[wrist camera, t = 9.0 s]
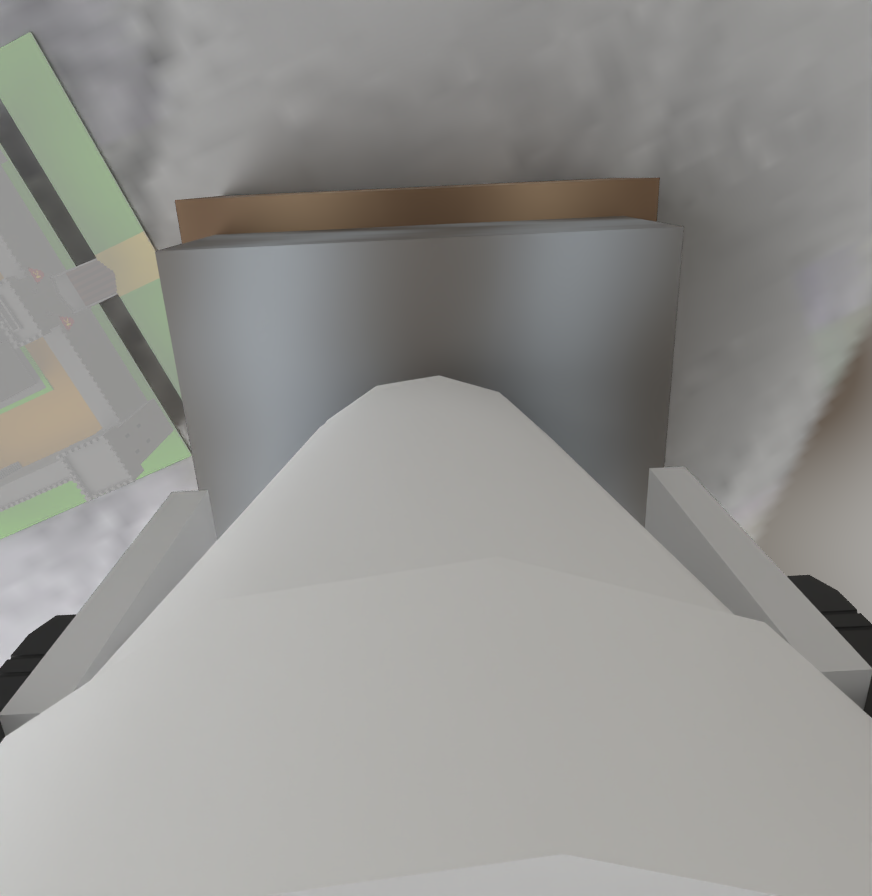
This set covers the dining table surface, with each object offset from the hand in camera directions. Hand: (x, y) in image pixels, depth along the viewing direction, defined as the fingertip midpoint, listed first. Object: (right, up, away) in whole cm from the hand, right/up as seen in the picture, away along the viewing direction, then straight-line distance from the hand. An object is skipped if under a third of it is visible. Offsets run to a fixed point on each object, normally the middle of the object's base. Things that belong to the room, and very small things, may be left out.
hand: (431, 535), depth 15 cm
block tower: (0, +5, +12) cm, 13 cm away
